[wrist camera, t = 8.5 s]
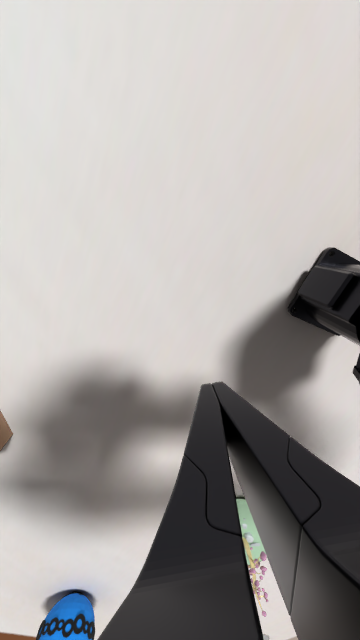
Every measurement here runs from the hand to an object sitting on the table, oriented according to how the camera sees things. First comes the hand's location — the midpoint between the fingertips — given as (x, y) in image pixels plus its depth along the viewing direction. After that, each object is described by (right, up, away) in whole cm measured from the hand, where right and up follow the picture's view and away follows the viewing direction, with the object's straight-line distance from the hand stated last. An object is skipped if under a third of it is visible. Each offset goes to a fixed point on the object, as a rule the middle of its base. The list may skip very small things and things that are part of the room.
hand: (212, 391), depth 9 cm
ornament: (-19, -45, +29) cm, 57 cm away
